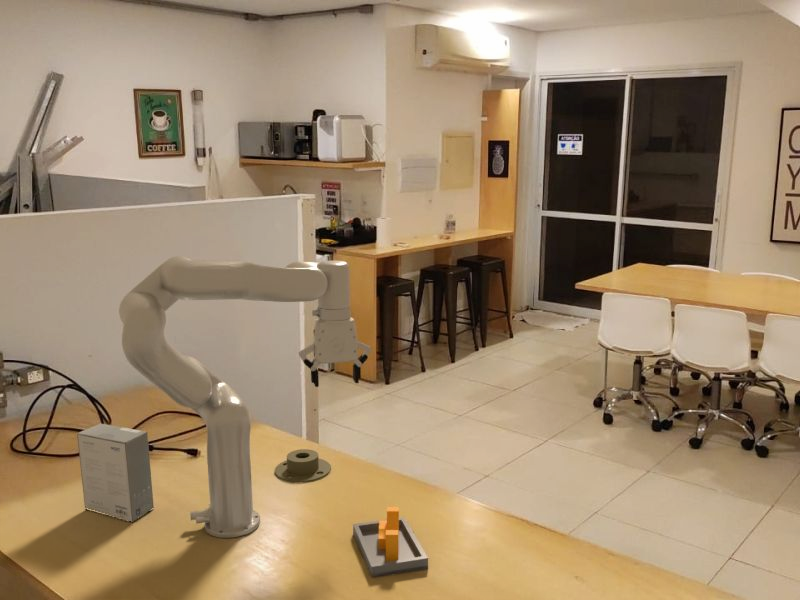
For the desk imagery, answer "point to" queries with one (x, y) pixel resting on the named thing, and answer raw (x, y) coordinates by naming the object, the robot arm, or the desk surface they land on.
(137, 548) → the desk surface
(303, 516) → the desk surface
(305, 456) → the flange
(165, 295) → the robot arm
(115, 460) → the hard drive box
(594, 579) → the desk surface
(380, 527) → the orange blocky piece
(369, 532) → the parts tray
